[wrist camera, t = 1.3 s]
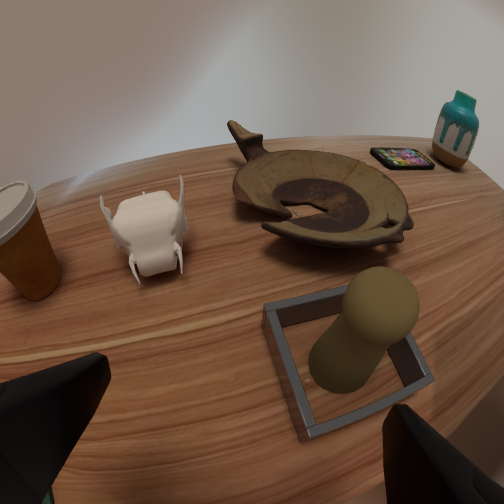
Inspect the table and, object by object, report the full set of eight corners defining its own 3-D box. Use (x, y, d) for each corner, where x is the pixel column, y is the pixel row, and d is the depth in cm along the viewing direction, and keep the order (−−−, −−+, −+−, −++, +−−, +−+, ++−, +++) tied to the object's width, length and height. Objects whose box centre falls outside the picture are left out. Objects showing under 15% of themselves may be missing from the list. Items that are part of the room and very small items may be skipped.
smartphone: (368, 147, 53) (415, 148, 56) (367, 151, 53) (414, 152, 56) (390, 165, 47) (437, 166, 50) (389, 170, 48) (435, 169, 51)
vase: (420, 148, 59) (438, 81, 45) (449, 156, 59) (468, 94, 45) (440, 170, 52) (464, 95, 38) (470, 177, 52) (494, 109, 38)
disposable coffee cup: (79, 249, 32) (45, 170, 23) (61, 312, 25) (6, 229, 17) (27, 256, 30) (-10, 187, 22) (6, 312, 24) (-47, 243, 15)
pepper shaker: (309, 395, 21) (354, 336, 13) (306, 333, 25) (336, 249, 17) (375, 390, 21) (445, 329, 13) (366, 332, 25) (416, 253, 17)
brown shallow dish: (286, 311, 27) (298, 256, 21) (204, 165, 46) (201, 123, 41) (428, 251, 33) (452, 207, 28) (316, 148, 52) (322, 112, 47)
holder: (415, 393, 20) (435, 380, 18) (300, 443, 18) (309, 438, 16) (366, 297, 28) (378, 276, 26) (261, 324, 26) (263, 303, 23)
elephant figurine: (123, 306, 26) (90, 244, 20) (117, 232, 34) (98, 174, 28) (210, 283, 29) (202, 214, 23) (186, 214, 37) (178, 154, 30)
